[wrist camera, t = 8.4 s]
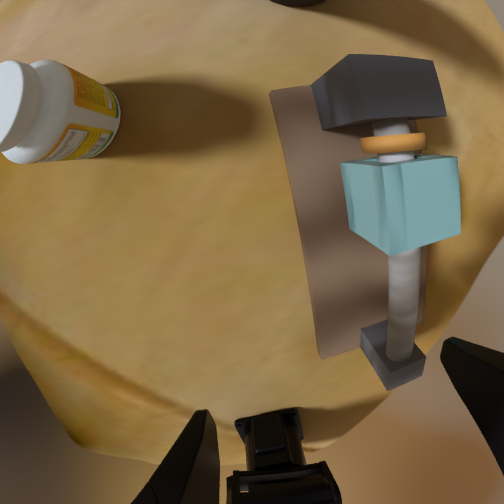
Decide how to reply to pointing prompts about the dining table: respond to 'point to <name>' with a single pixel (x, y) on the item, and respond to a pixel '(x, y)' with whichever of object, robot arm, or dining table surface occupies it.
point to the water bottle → (298, 2)
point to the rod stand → (335, 209)
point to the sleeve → (403, 200)
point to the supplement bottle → (53, 113)
